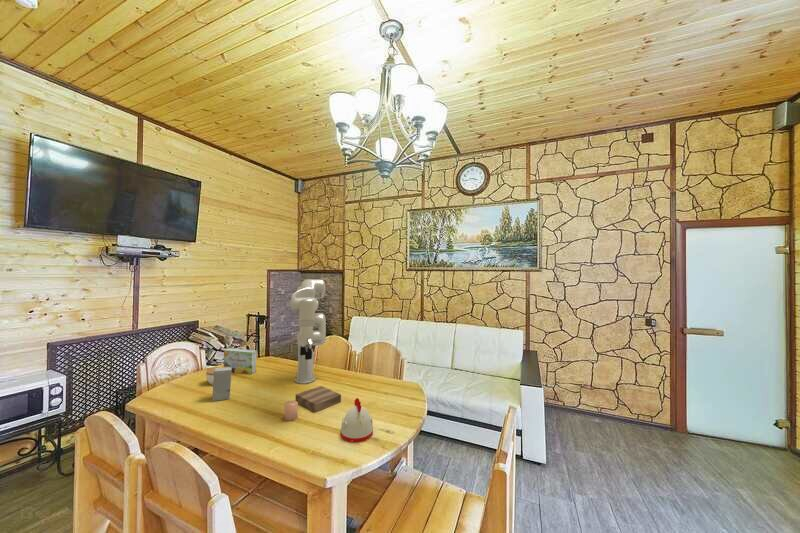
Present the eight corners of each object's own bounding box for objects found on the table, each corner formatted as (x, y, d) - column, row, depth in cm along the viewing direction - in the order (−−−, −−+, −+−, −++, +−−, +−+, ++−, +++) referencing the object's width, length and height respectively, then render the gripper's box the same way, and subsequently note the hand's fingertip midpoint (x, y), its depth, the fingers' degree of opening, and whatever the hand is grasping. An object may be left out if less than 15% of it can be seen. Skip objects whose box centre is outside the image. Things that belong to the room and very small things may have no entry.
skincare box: (211, 402, 157) (212, 371, 157) (213, 396, 163) (214, 367, 163) (230, 399, 161) (231, 369, 161) (230, 394, 167) (231, 365, 167)
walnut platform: (295, 401, 160) (295, 394, 160) (320, 392, 172) (320, 385, 172) (315, 412, 148) (315, 404, 148) (340, 402, 160) (341, 394, 161)
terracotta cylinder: (281, 418, 142) (282, 403, 142) (293, 413, 146) (293, 399, 146) (288, 422, 138) (288, 407, 138) (299, 417, 143) (300, 403, 143)
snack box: (222, 372, 201) (223, 349, 202) (228, 369, 207) (229, 347, 207) (251, 374, 198) (251, 351, 198) (256, 371, 204) (257, 349, 204)
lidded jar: (229, 382, 184) (230, 367, 184) (211, 387, 175) (211, 371, 175) (220, 378, 190) (221, 363, 190) (202, 383, 181) (202, 368, 181)
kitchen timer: (344, 445, 121) (345, 408, 122) (337, 428, 134) (338, 394, 134) (377, 438, 127) (378, 402, 127) (367, 422, 140) (368, 390, 140)
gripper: (295, 321, 158) (294, 354, 157) (303, 325, 143) (302, 362, 143) (309, 320, 162) (308, 352, 161) (319, 324, 147) (318, 360, 147)
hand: (305, 357), depth 152 cm, fingers open, 9 cm apart
